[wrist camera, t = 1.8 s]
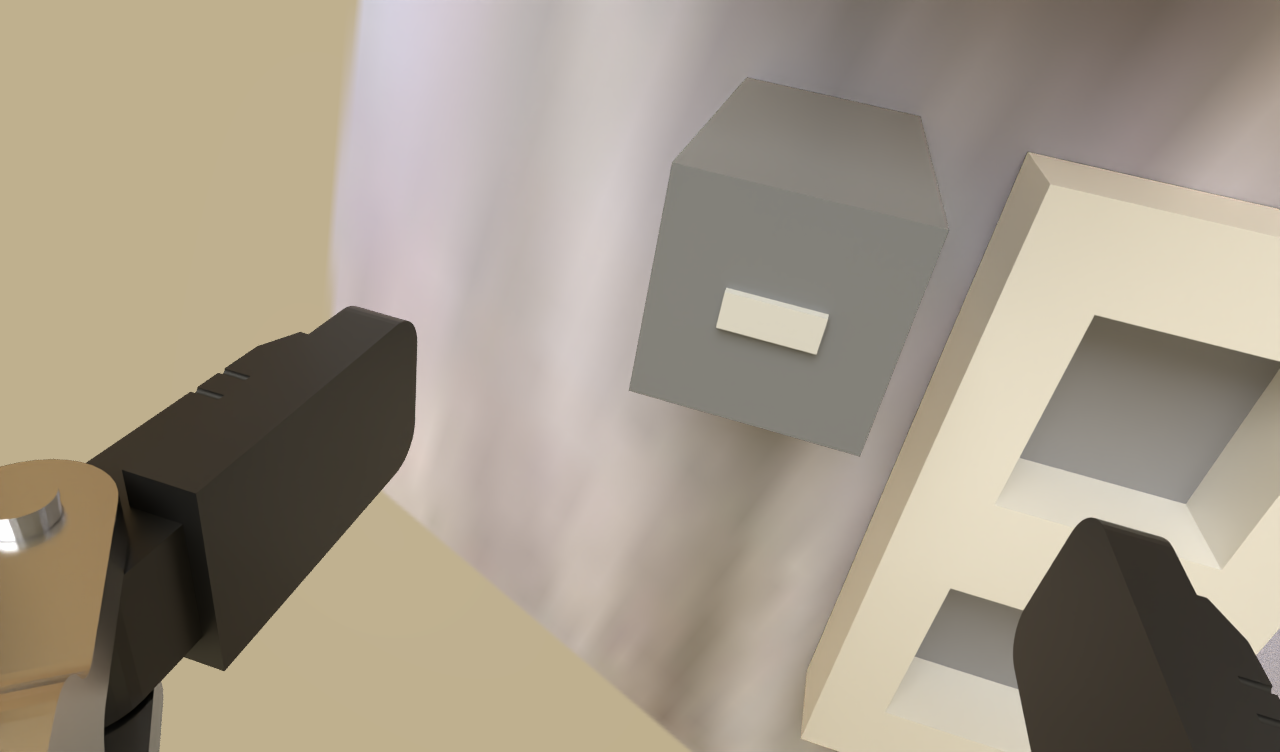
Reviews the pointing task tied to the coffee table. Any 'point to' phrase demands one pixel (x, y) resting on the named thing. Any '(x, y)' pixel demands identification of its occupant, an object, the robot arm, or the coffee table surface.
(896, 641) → the outlet plate
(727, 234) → the block
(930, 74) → the coffee table surface
